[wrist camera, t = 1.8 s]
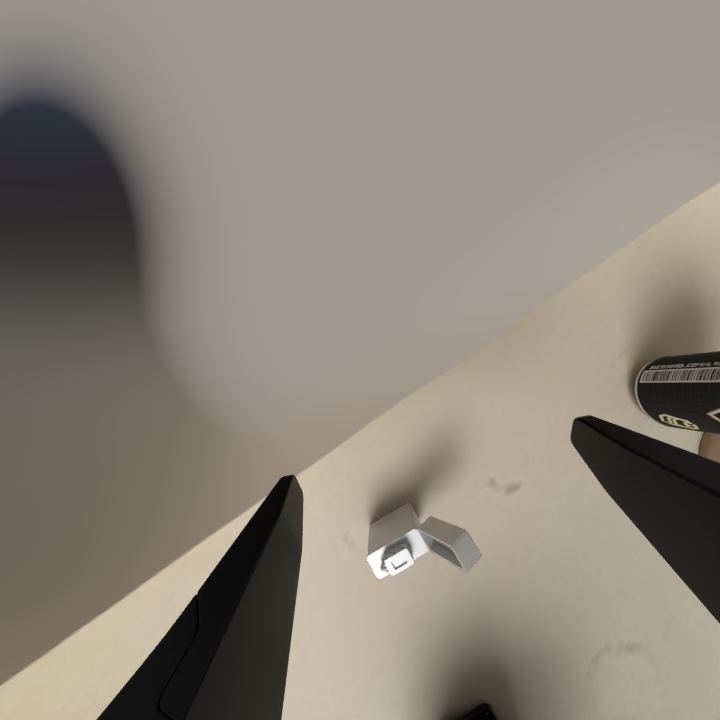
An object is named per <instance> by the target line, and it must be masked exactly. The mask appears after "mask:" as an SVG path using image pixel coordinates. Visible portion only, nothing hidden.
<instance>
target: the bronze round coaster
mask: <svg viewBox="0 0 720 720" xmlns="http://www.w3.org/2000/svg"><path fill="white" fill-rule="evenodd" d="M699 455H700V456H703V457H705V458H708V459H711V460H713V461H716V462H719V463H720V434H715V433H708V432H705V433H704V435H703V438H702V441H701V444H700V449H699Z"/></svg>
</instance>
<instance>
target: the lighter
mask: <svg viewBox="0 0 720 720" xmlns="http://www.w3.org/2000/svg"><path fill="white" fill-rule="evenodd" d="M428 549H429V550H430V551H431V552H432V553H434V554H435V555H437V556H439V557H440V558H442V559H444V560H445V561H447V562H449V563H450V564H452V565H453V566H455V567H457V568H458V569H460V570H462V571H463V572H465V573H468V572H469V571H470V570H471V568H472V567H473V566H474V565H475V564H476V563H477V561H478V560H479V559H480V558H481V556H482V555H481V553H480V551H479V550H478V548H477V546H476V545H475V543H474V541H473V540H472V538H471V536H470V534H469V533H468V532H467V531H466V530H465V529H462V528H460V527H457V526H455V525H452V524H450V523H447V522H445V521H442V520H439V519H437V518H434V517H432V516H430V517H429V518H428V519H427V520H426V521H424V522H423V523H422V524H421V523H420V520H419V517H418V515H417V514H416V512H415V510H414V509H413V507H412V505H411V503H406V504H404V505H403V506H401V507H399V508H398V509H396V510H394V511H393V512H391V513H389V514H387V515H386V516H384V517H382V518H381V519H379V520H377V521H376V522H374V523H372V524H370V527H369V540H368V555H367V560H368V562H369V564H370V565H371V567H372V569H373V571H374V573H375V575H376V576H377V578H379V579H382V578H383V577H385V576H387V575H388V574H391V575H392V576H394V575H396V574H397V573H399V572H401V571H402V570H404V569H406V568H408V567H409V566H411V565H413V564H414V559H416V558H418V557H419V556H421V555H423V554H424V553H426V552H427V551H428Z"/></svg>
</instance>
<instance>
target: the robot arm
mask: <svg viewBox="0 0 720 720" xmlns="http://www.w3.org/2000/svg"><path fill="white" fill-rule="evenodd" d="M570 438H571V442H572V444H573V446H574V447H575V449H576V450H577V451H578V453H579V454H580V456H581V457H582V458H583V460H584V461H585V463H586V464H587V465H588V467H589V468H590V470H591V471H592V472H593V474H594V475H595V477H596V478H597V479H598V481H599V482H600V484H601V485H602V486H603V488H604V489H605V490H606V492H607V493H608V494H609V495H610V496H611V498H612V499H613V500H614V501H615V502H616V503H617V505H618V506H619V507H620V508H621V509H622V510H623V512H624V513H625V514H626V515H627V516H628V517H629V519H630V520H631V521H632V522H633V523H634V524H635V526H636V527H637V528H638V529H639V530H640V531H641V533H642V534H643V535H644V536H645V537H646V538H647V540H648V541H649V542H650V543H651V544H652V545H653V546H654V548H655V549H656V550H657V551H658V552H659V553H660V555H661V556H662V557H663V558H664V559H665V560H666V562H667V563H668V564H669V565H670V566H671V567H672V569H673V570H674V571H675V572H676V573H677V574H678V576H679V577H680V578H681V579H682V580H683V581H684V583H685V584H686V585H687V586H688V587H689V588H690V590H691V591H692V592H693V593H694V594H695V595H696V596H697V598H698V599H699V600H700V601H701V602H702V603H703V605H704V606H705V607H706V608H707V609H708V610H709V612H710V613H711V614H712V615H713V616H714V617H715V619H716V620H717V621H718V622H719V623H720V463H719V462H716V461H713V460H711V459H708V458H705V457H703V456H700V455H697V454H694V453H692V452H689V451H686V450H683V449H681V448H678V447H675V446H673V445H670V444H667V443H664V442H662V441H659V440H656V439H653V438H651V437H648V436H645V435H643V434H640V433H637V432H634V431H632V430H629V429H626V428H624V427H621V426H618V425H615V424H613V423H610V422H607V421H604V420H602V419H599V418H596V417H594V416H590V415H587V416H582V417H577V418H575V419H574V420H573V425H572V431H571V437H570ZM302 536H303V492H302V489H301V487H300V485H299V483H298V481H297V479H296V477H295V476H294V475H289V476H284V477H282V478H281V479H280V480H279V481H278V483H277V484H276V485H275V487H274V488H273V489H272V491H271V492H270V493H269V495H268V496H267V497H266V499H265V500H264V502H263V503H262V504H261V506H260V507H259V508H258V510H257V511H256V513H255V514H254V515H253V517H252V518H251V519H250V521H249V522H248V523H247V525H246V526H245V528H244V529H243V530H242V532H241V533H240V534H239V536H238V537H237V539H236V540H235V541H234V543H233V544H232V545H231V547H230V548H229V550H228V551H227V552H226V554H225V555H224V556H223V558H222V559H221V560H220V562H219V563H218V565H217V566H216V567H215V569H214V570H213V571H212V573H211V574H210V576H209V577H208V578H207V580H206V581H205V582H204V584H203V585H202V586H201V588H200V589H199V591H198V595H195V596H194V597H193V599H192V600H191V601H190V603H189V604H188V605H187V607H186V608H185V610H184V611H183V612H182V614H181V615H180V616H179V618H178V619H177V620H176V622H175V623H174V624H173V626H172V627H171V628H170V630H169V631H168V632H167V634H166V635H165V636H164V637H163V639H162V640H161V641H160V642H159V644H158V645H157V646H156V647H155V649H154V650H153V651H152V652H151V654H150V655H149V656H148V657H147V659H146V660H145V661H144V662H143V664H142V665H141V666H140V667H139V669H138V670H137V671H136V672H135V674H134V675H133V676H132V677H131V678H130V680H129V681H128V682H127V683H126V684H125V686H124V687H123V688H122V689H121V691H120V692H119V693H118V694H117V695H116V697H115V698H114V699H113V700H112V702H111V703H110V704H109V705H108V706H107V708H106V709H105V710H104V711H103V713H102V714H101V715H100V716H99V717H98V719H97V720H281V717H282V709H283V701H284V693H285V685H286V677H287V669H288V660H289V652H290V644H291V636H292V628H293V620H294V611H295V603H296V595H297V587H298V579H299V571H300V563H301V554H302ZM486 713H488V714H486ZM459 720H499V719H498V717H497V716H496V714H495V712H494V711H493V709H492V708H491V706H490V705H488V704H482V705H480V706H479V707H477V708H476V709H474V710H473V711H471V712H470V713H468V714H467V715H465V716H464V717H462V718H461V719H459Z"/></svg>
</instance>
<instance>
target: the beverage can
mask: <svg viewBox="0 0 720 720" xmlns="http://www.w3.org/2000/svg"><path fill="white" fill-rule="evenodd" d="M634 389H635V396H636V400H637V402H638V404H639V406H640V408H641V409H642V411H643V412H644V413H645V414H646V415H647V416H648V417H649V418H651V419H652V420H654V421H655V422H657V423H659V424H662V425H665V426H668V427H674V428H681V429H687V430H694V431H701V432H708V433H715V434H720V351H718V352H707V353H697V354H687V355H676V356H666V357H661V358H657V359H655V360H652V361H651V362H649V363H648V364H646V365H645V366H644V367H643V368H642V369H641V370H640V372H639V374H638V375H637V378H636V381H635V388H634Z"/></svg>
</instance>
